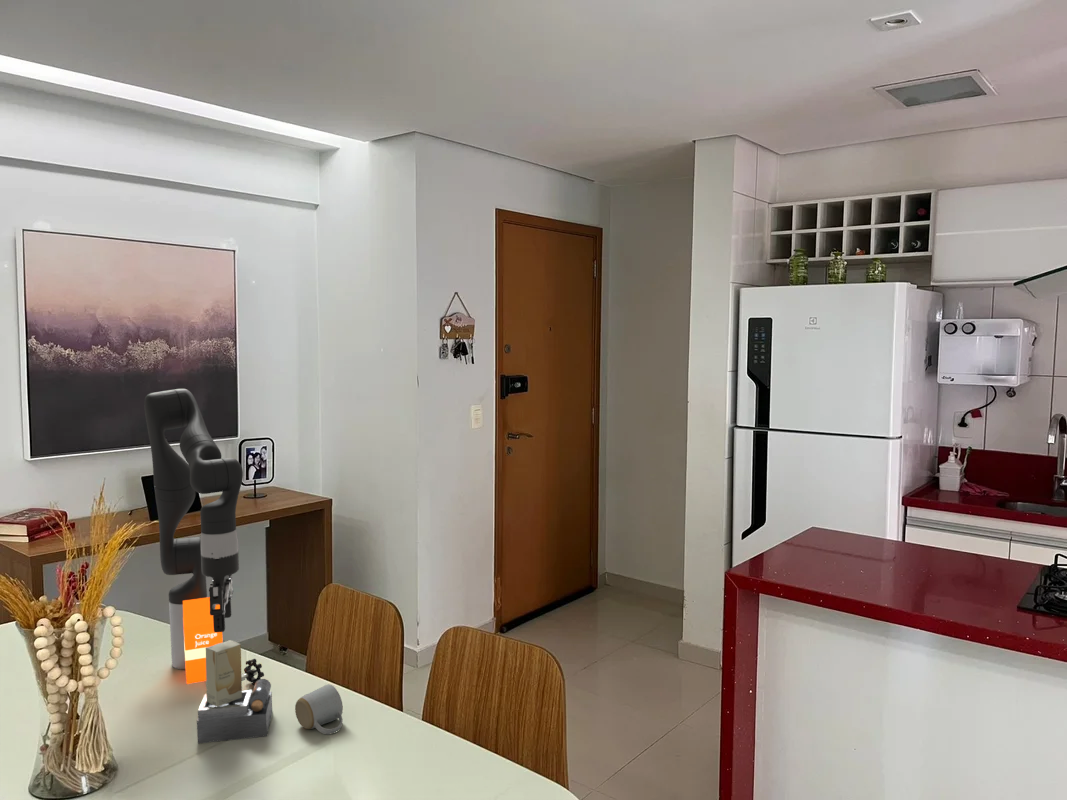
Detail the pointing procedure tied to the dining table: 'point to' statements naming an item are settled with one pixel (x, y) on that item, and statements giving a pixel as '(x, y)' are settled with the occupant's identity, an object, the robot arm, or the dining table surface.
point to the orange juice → (198, 637)
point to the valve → (252, 672)
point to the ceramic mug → (320, 709)
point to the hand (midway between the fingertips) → (222, 624)
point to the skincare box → (223, 673)
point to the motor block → (237, 716)
